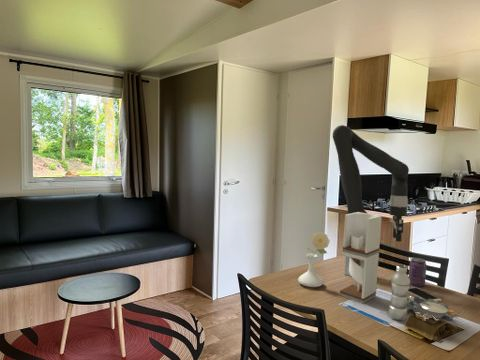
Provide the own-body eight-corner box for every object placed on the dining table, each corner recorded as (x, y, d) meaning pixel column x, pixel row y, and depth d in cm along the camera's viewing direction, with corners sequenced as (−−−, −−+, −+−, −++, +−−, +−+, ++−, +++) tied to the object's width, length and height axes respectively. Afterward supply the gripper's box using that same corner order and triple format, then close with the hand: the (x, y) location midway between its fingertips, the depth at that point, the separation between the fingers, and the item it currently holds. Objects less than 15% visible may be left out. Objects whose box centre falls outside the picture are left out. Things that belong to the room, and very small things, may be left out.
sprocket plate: (401, 315, 134) (402, 303, 134) (399, 296, 151) (399, 286, 151) (458, 325, 127) (459, 314, 127) (449, 305, 144) (450, 294, 144)
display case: (352, 288, 158) (358, 212, 155) (375, 296, 151) (381, 216, 148) (339, 295, 150) (345, 214, 147) (363, 303, 143) (369, 219, 140)
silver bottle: (405, 316, 133) (410, 264, 131) (408, 324, 127) (412, 270, 125) (387, 312, 135) (391, 262, 134) (388, 320, 129) (393, 267, 127)
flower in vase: (295, 286, 158) (298, 232, 155) (300, 278, 168) (303, 227, 166) (324, 292, 153) (328, 235, 151) (328, 283, 163) (331, 230, 161)
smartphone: (414, 286, 163) (442, 299, 149) (414, 287, 163) (442, 301, 149) (401, 288, 161) (429, 301, 147) (401, 289, 161) (429, 303, 147)
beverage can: (420, 282, 170) (423, 258, 168) (427, 287, 163) (429, 262, 161) (405, 281, 170) (407, 257, 169) (411, 286, 163) (413, 261, 162)
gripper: (387, 203, 173) (386, 236, 173) (392, 206, 159) (390, 241, 159) (404, 204, 171) (402, 237, 171) (410, 207, 157) (408, 243, 158)
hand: (396, 239), depth 165 cm, fingers open, 8 cm apart
